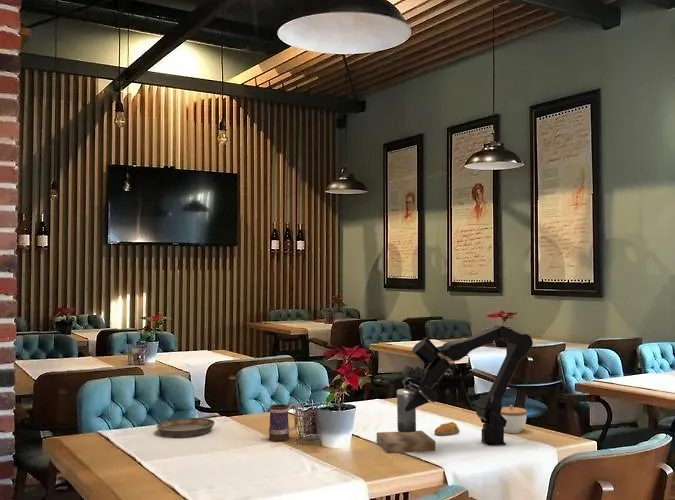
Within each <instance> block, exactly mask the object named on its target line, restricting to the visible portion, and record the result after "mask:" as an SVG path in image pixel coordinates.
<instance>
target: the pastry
mask: <svg viewBox="0 0 675 500" xmlns="http://www.w3.org/2000/svg"><path fill="white" fill-rule="evenodd" d="M459 433H460V428H459V427H458V425H457V423H456V422H453V421H451V422H447V423H442V424H440V425H439V426H438V427H437V428H435V429H434V435H437V436H440V437H441V436H442V437H444V436H453V435H457V434H459Z"/></svg>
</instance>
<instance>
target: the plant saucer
mask: <svg viewBox="0 0 675 500" xmlns="http://www.w3.org/2000/svg"><path fill="white" fill-rule="evenodd" d="M215 423H216V422H215V420H214V419H210V418H204V417H203V418H202V417H186V418H185V417H184V418H175V419H170V420H165V421H162V422H160V423H158V424H157V425H156V428H157V430H158V431H159V432H160V434H162V435H163V436H166V437H171V438H191V437H196V436H201V435H205V434H206V433H208V432H209V431H210V430H211V429H212V428H213V426H215Z"/></svg>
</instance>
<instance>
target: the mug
mask: <svg viewBox="0 0 675 500" xmlns="http://www.w3.org/2000/svg"><path fill="white" fill-rule="evenodd" d="M291 408H294V412H295V413H294V426H293V427H290V426H289V411H290V410H292V409H291ZM298 409H299V408H298V406H297V404H295V403H292V404H290V405H289V406H288V405H287V404H285V403H284V404H282V403H279V404H278V403H277V404H271V405H270V407H269V428H268V433H269V437H268V438H269V440H270V441H271V442H278V443H280V442H286V441H289V439H290V431H293V430H296V429H297V427H298V412H299V411H298Z"/></svg>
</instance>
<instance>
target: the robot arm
mask: <svg viewBox="0 0 675 500" xmlns="http://www.w3.org/2000/svg"><path fill="white" fill-rule="evenodd" d="M499 339H500V340H502V341H504V342H505V343H506V345H505V346H506V353H505V357H504V360H503V362H502V364H501V365H500V368H499V370H498V372H497V374H496V376H495V378H494V380H493V382H492V386H491V387H490V389H489V391H488V393H487V394H485V395H483V394H480V396H479V398H478V401H477V403H475V406H476V408H475V413H476V416H477V417H478V418H479V420H480V422H481V423H482V428H481V443H483V444H484V445H486V446H502V445H503V446H504V445H505V446H506V445H507V443H506V442H505V432H504V427H505V426H506V423H507V420H506V419H505V418H504V417H503V416H502V415H501V414H500V413H501V410H502V407H503V398H504V396H505V393H506V391H507V389H508V386H509V384H510V383H511V380H512V378H513V377H514V374H515V372H516V369H517V368H518V365H519V363H520V361H521V360H522V359H523V358H524V357H526V356H527V355H528V353H529V352H530V350H531V349H532V347H533V344H534V342H533V339H532V337H531V335H530V334H527V333H522V332H517V331H516V330H512V329H509V328H508V327H506V326H505V325H498V324H496V325H494V326H493V327H491V328H488V329H486V330H483V331H481V332H478V333H476V334H474V335H471V336H469V337H467V338H464V339H456V340H452V341H450V340H449V341H447V342H445V343H443V344H442V345H440V346H436V345H435V344H434V343H433V342H432V341H431V340H430V339H429V337H424V338H423V339H422V340H420V341H418V342H417V343H416V344H414V346H413V347H412V349H411V352H412V353H413V354H414V355H415V356H416V357H417V358H418V359H419V360H420V361H421V362H422V364H427V363H428V366H427V367H425V368H422V367H420V366H416V365H415V366H414V367H411V366H409V365H406V364H405V366H404V368H403V369H402V373H401V374H402V375H404V376H406V377H404V378H403V380H401V382H402V384H403V389H414V396H413V397H412V399H411V400H410V402H409V403H408V405H407V406H406V408H405V410H406V411H407V412H408V411H410V410H412V409H414V408H416V409H417V408H419V407H421V406H423V405H425V404H429V403H430V402H431V403H432V404H434V403H435V402H436V401H438V400H437V399H438V393H436V391H434V390H433V387H434V386H435V385H439V384H440V383H441V381H440V380H441V378H443V376H444V375H445V374H446V373H447V372H448V371H449V372H452V373H455V372H456V370H455V365H456V364H455V363H454V362H459V361H460V360H462V359H464V358H465V357H466V356H468V355H469V354H470V353H471V352H472V351H474V350H476V349H478V348H481V347H483V346H485V345H488V344H491V343H493V342H495V341H497V340H499ZM441 356H442V357H443V358H442V357H441ZM448 360H451V361H452V362H453V361H454V362H453V363H452V362H449V361H448Z"/></svg>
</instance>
